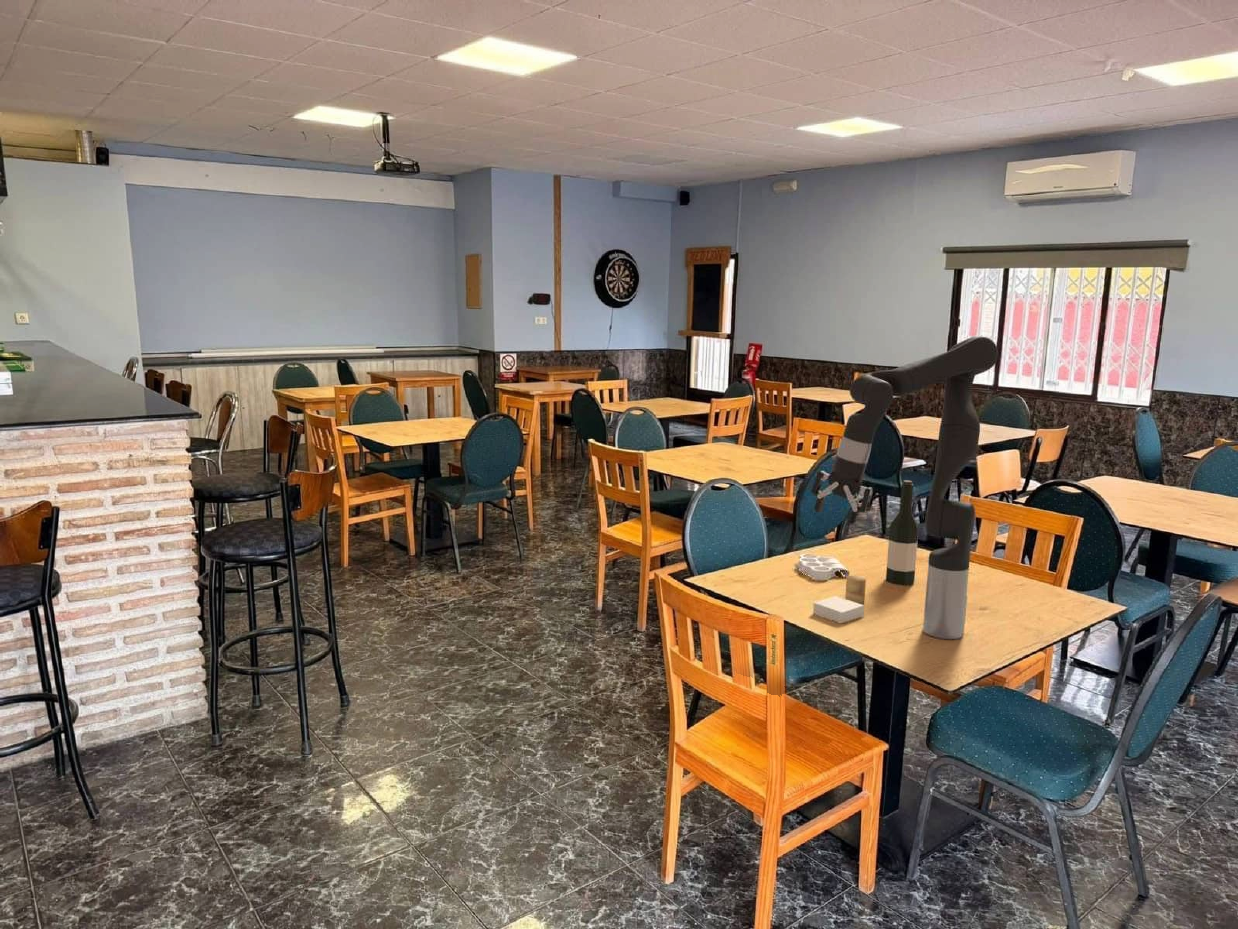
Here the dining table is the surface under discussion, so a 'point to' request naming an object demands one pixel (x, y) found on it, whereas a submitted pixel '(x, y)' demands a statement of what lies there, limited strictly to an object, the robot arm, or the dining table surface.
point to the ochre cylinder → (855, 589)
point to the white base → (838, 609)
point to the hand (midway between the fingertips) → (833, 518)
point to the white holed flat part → (820, 566)
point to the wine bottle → (903, 541)
